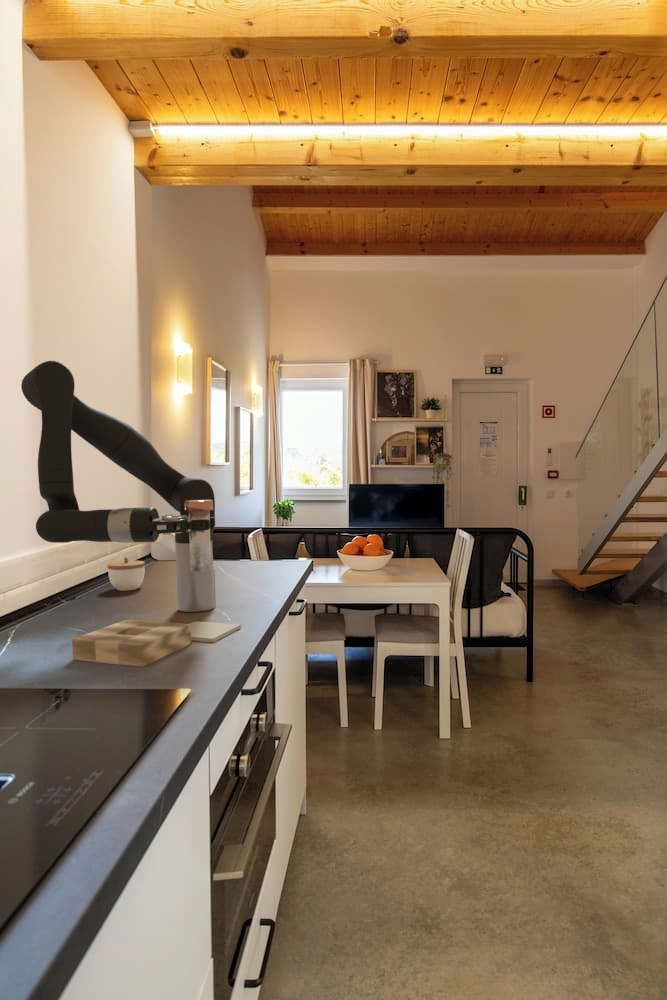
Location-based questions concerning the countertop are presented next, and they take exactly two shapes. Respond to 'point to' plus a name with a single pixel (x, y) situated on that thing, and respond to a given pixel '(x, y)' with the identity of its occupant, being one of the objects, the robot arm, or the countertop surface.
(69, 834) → the countertop surface
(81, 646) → the bore block
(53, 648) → the countertop surface
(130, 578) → the lidded jar
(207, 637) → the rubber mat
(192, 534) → the copper-capped metal cylinder
